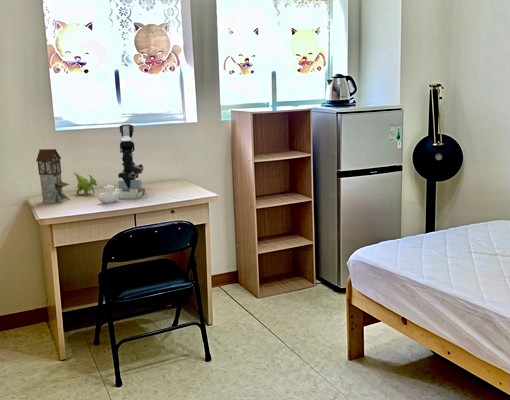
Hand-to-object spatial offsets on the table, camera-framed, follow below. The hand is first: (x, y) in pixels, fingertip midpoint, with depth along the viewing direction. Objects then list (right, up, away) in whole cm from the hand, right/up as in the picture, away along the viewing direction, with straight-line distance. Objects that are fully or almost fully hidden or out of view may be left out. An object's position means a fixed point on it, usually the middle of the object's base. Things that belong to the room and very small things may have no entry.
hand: (130, 187), depth 330 cm
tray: (-1, -6, -7) cm, 9 cm away
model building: (-40, -9, -11) cm, 42 cm away
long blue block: (0, -1, 0) cm, 1 cm away
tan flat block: (0, -4, +2) cm, 5 cm away
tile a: (-5, -3, -4) cm, 8 cm away
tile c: (+4, -3, -6) cm, 8 cm away
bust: (-7, -9, -20) cm, 23 cm away
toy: (-28, -4, +7) cm, 29 cm away
